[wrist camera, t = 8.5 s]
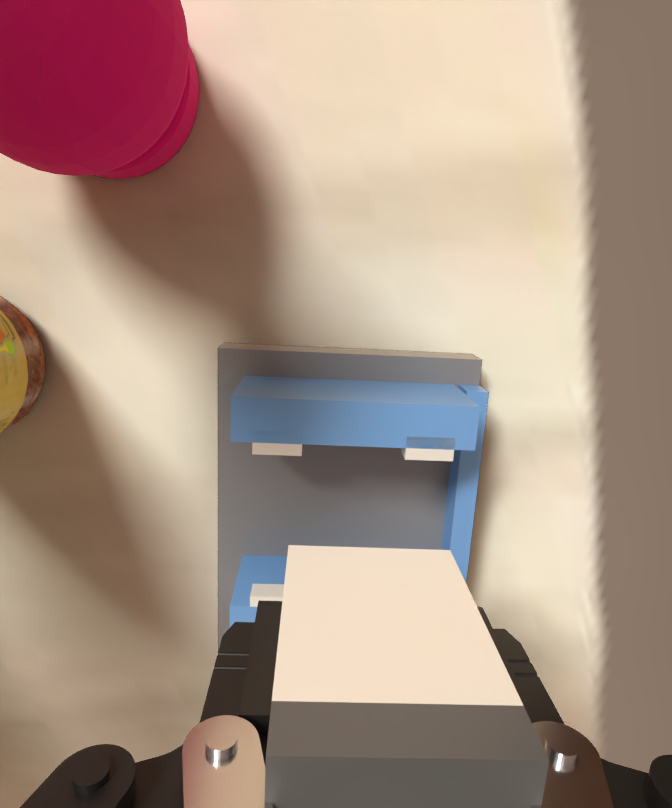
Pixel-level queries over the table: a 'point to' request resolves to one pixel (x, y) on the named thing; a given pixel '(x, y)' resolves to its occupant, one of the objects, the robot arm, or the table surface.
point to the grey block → (392, 690)
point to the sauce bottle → (18, 365)
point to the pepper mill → (95, 85)
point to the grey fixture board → (340, 458)
